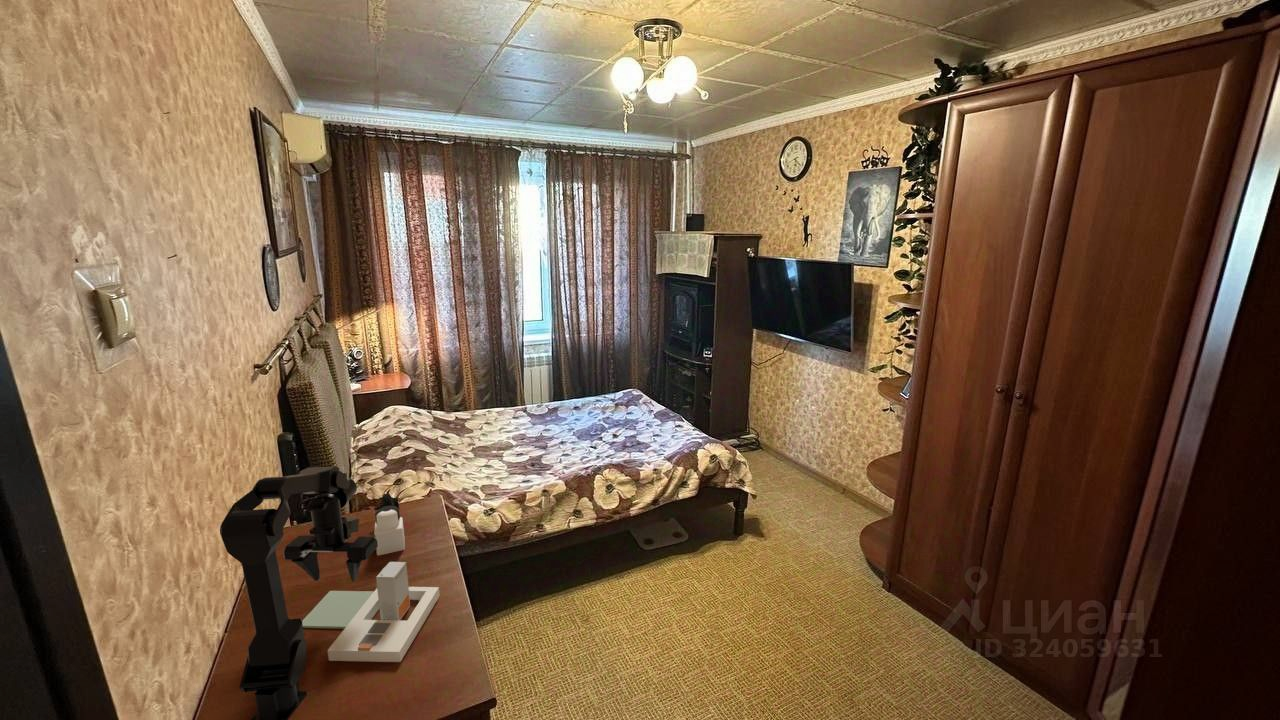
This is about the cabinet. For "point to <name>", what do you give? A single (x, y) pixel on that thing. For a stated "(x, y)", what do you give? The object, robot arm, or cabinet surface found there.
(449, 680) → the cabinet surface
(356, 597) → the mat
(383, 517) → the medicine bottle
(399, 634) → the cream rectangular frame
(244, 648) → the cabinet surface
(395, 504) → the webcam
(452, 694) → the cabinet surface
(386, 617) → the skincare box
